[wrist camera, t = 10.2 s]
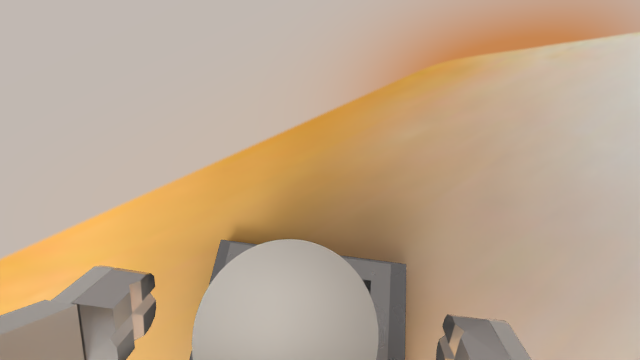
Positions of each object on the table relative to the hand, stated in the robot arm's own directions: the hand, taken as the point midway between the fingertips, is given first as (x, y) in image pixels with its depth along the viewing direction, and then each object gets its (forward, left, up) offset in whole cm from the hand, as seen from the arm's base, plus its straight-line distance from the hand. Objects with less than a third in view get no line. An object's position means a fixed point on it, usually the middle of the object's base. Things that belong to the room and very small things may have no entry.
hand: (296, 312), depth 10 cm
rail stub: (0, +1, -8) cm, 8 cm away
